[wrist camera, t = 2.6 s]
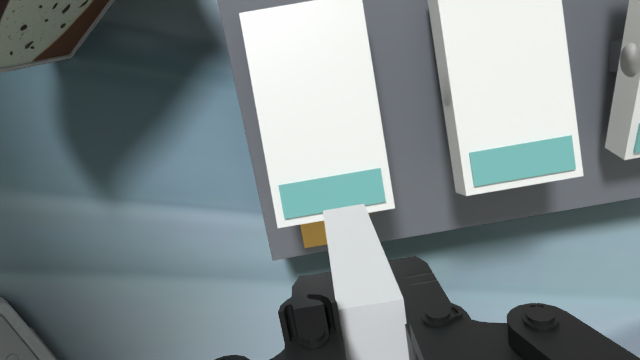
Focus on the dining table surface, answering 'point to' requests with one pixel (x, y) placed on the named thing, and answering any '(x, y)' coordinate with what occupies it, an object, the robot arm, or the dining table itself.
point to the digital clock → (19, 338)
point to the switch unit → (430, 128)
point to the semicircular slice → (45, 30)
